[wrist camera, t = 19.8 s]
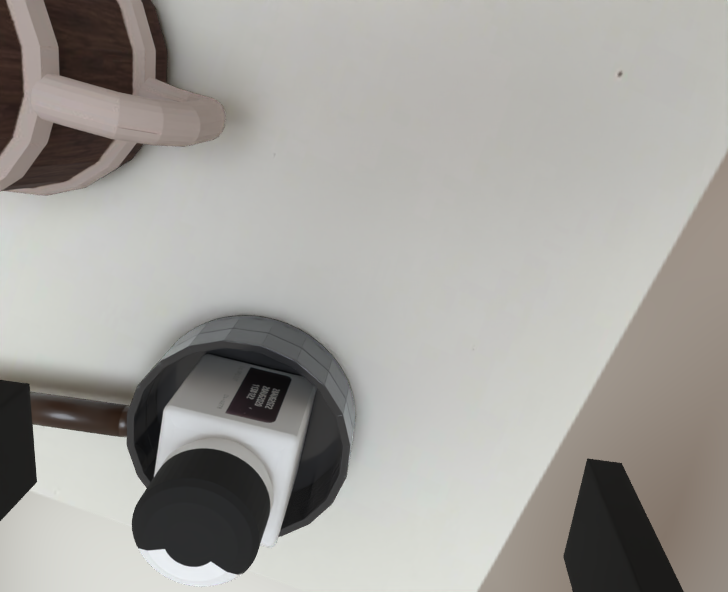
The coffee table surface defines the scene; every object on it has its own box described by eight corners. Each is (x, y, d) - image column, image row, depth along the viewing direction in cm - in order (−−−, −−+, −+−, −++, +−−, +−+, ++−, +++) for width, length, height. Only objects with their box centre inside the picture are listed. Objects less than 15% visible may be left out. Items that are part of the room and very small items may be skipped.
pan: (366, 330, 43) (361, 359, 39) (344, 510, 48) (337, 554, 44) (154, 301, 44) (126, 326, 40) (152, 483, 48) (126, 523, 44)
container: (204, 350, 44) (121, 460, 32) (318, 378, 44) (280, 498, 32) (188, 449, 47) (106, 586, 34) (296, 475, 47) (253, 622, 34)
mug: (-82, 147, 42) (-339, 189, 27) (-69, -123, 37) (-374, -243, 22) (228, 236, 42) (132, 323, 28) (283, -20, 37) (200, -72, 23)
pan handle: (146, 402, 43) (134, 417, 41) (146, 429, 44) (134, 445, 42) (-34, 376, 44) (-54, 390, 42) (-32, 403, 44) (-51, 418, 43)
